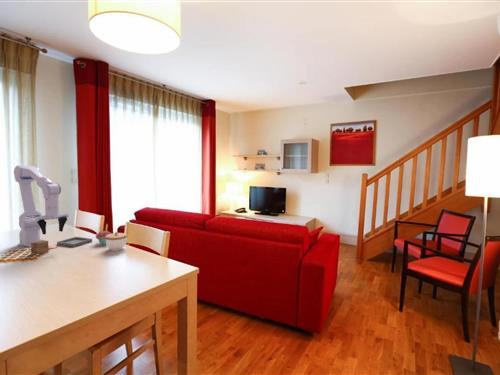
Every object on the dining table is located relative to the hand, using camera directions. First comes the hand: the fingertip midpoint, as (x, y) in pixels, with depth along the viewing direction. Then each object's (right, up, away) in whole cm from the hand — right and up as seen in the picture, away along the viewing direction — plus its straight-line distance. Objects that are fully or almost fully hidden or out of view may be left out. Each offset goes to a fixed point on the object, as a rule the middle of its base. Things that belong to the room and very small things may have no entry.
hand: (52, 232), depth 141 cm
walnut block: (-4, -10, -4) cm, 11 cm away
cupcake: (+18, -9, +16) cm, 26 cm away
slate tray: (+2, -9, +14) cm, 17 cm away
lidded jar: (+30, -10, +6) cm, 33 cm away
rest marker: (-5, -9, +5) cm, 11 cm away
